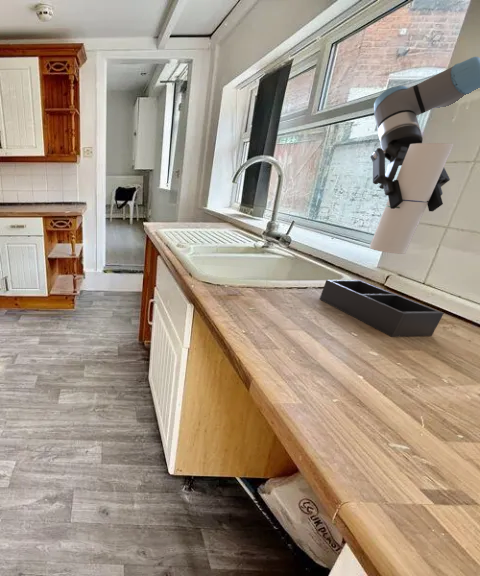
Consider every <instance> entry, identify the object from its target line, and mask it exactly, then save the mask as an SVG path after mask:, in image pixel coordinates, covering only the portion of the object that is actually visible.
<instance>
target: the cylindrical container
mask: <svg viewBox="0 0 480 576" xmlns="http://www.w3.org/2000/svg"><path fill="white" fill-rule="evenodd" d="M454 146H455V144H454V143H449V142H422V143H416V144H410V146H409V149H408V151H407V154H406V156H405V159H404V161H403V164H402V165H401V166H400V169H399V171H398V174H397V176H396V179H395V180H398V182H399V186H400V190H401V195H402V199H403V202H402V203H401V204H399V205H398V206H397V207H396V208H395V209H391V208H390V203H389V198H387V202H386V204H385V206H384V209H383V212H382V214H381V216H380V219H379V222H378V224H377V227H376V230H375V232H374V234H373V236H372V237H373V238H372V239H371V242H370V244H369V249H370V250H374V251H378V252H382V253H389V254H395V255H396V254H397V255H404V254H406V253H407V251H408V248H409V246H410V244H411V242H412V240H413V237H414V235H415V233H416V231H417V227H418V226H419V224H420V222H421V220H422V217H423V215H424V213H425V211H426V208H427V207H428V205H427V204H428V202H427V201H429V199H430V197H431V195H432V192H433V190H434V188H435V186H436V184H437V181H438V179H439V177H440V175H441V172H442V170H443V168H445V165H446V163H447V161H448V159H449V156H450V155H451V152H452V150H453V148H454Z"/></svg>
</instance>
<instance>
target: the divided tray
mask: <svg viewBox="0 0 480 576" xmlns="http://www.w3.org/2000/svg"><path fill="white" fill-rule="evenodd" d="M319 300H320V301H322V302H324V303H326V304H328V305H330V306H332V307H334V308H335V309H337V310H339V311H341V312H343V313H345V314H347V315H349V316H351V317H353V318H355V319H357V320H359V321H360V322H362V323H365V324H366V325H368V326H370V327H372V328H374V329H375V330H377V331H380V332H382V333H383V334H386V335H387V336H389V337H391V338H395V337H396V338H399V337H400V338H402V337H432V336H433V334H434V332H435V331H436V329H437V327H438V325H439V323H440V322H441V319H442V317H443V316H444V314H445V313H444V312H442V311H440V310H437V309H435V308H432V307H431V306H428V305H424V304H422V303H420V302H417V301H414V300H412V299H409V298H407V297H404V296H402V295H399V294H396V293H394V292H391V291H389V290H386V289H384V288H381V287H379V286H376V285H373V284H371V283H368V282H366V281H363V280H361V279H326V280H325V283H324V285H323V288H322V291H321V294H320V296H319Z"/></svg>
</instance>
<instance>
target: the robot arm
mask: <svg viewBox="0 0 480 576" xmlns="http://www.w3.org/2000/svg"><path fill="white" fill-rule="evenodd" d="M478 88H480V57H479V56H473V57H470V58H467V59H465V60H463V61H461V62H457V63H455V64H454V65H453V66H450V67H448V68H447V69H445V70H442V71H441V72H439V73H436V74H435V75H433V76H430V77H429V78H427V79H425V80H423V81H421V82H419V83H416V84H415V85H413V86H412V85H411V86H410V87H409V88H408V87H407V86H405V85H397V86H392V87H390V88H387V89H386V90H384V91H383V92H381V93H380V94H379V95H378V97H377V98H376V99H375V100H374V103H373V111H374V112H373V117H374V119H375V120H374V121H375V124H376V128H377V133H378V137H379V143H380V147H377V148H376V149H375V151H373V153H372V154H371V155H370V157H369V158H370V160H371V161H372V184H374V185H378V184H379V185H378V187H379V189H381V190H383V192H384V195H385V196H387V197H388V198H387V199H389V203H390V208H391V209H395V208H396V207H397V206H398V205H399V204H401V203H402V202H403V199H402V195H401V190H400V186H399V182H398V180H396V179H395V177H396V175H397V172H398V170H399V167H401V166H402V164H403V161H404V159H405V156H406V154H407V151H408V149H409V146H410V144H416V143H423V141H424V140H423V139H424V137H423V134H422V131H421V128H420V127H421V126H420V124H419V120H418V117H417V116H419V115H423V114H425V113H426V112H429V111H431V110H432V109H433V108H440V107H446V106H449V105H451V104H453V103H455V102H456V101H458V100H459V99H460V98H462V97H463V96H464V95H466V94H469V93H471V92H472V91H474V90H476V89H478ZM386 160H387V161H388V163H387V166H386ZM386 168H387V169H386ZM450 180H451V178H450V176H449V174H448V172H447V171H446V168H445V167H444V168H443V170H442V172H441V175H440V177H439V179H438V181H437V184H436V186H435V188H434V190H433V192H432V195H431V197H430V199H429V201H426V202H428V204H427V210H428V212H434V211H436V210H437V209H438V208H440V207H441V206H443V205H444V203H443V199H442V195H443V189H442V188H443V186H444V185H446V184H447V183H448V182H449V181H450Z"/></svg>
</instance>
